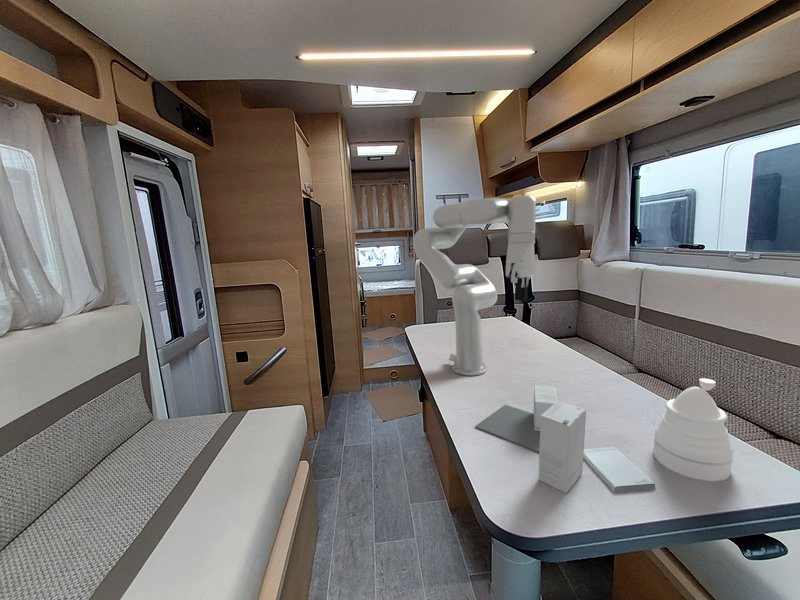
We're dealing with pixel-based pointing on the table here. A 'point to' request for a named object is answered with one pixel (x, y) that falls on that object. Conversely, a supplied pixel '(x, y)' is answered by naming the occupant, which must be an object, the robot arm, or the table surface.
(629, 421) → the table surface
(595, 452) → the hard drive
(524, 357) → the table surface
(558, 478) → the skincare box
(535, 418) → the small box
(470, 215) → the robot arm
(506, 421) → the rubber mat
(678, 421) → the honey pot
